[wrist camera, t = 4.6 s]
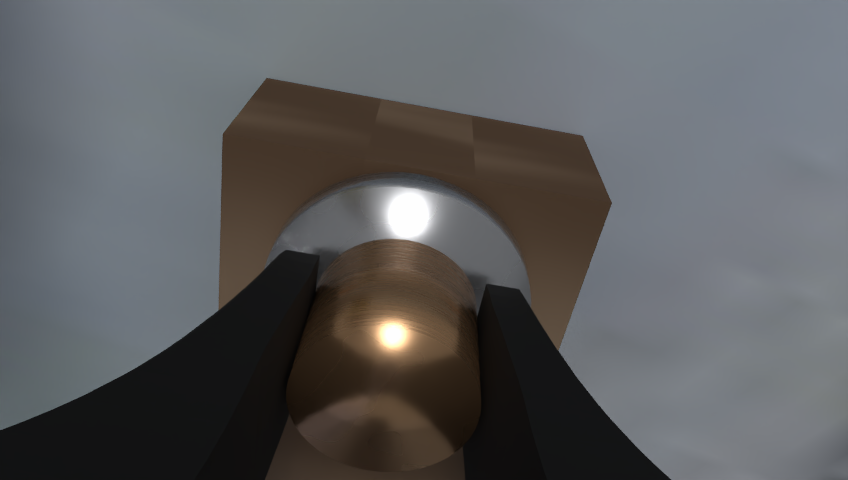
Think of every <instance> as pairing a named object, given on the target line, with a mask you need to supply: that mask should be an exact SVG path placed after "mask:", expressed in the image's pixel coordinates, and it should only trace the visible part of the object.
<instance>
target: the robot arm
mask: <svg viewBox="0 0 848 480" xmlns="http://www.w3.org/2000/svg"><path fill="white" fill-rule="evenodd" d="M319 258H320V255H315V254H309V253H303V252H297V251H291V250H285V251H283V252H282V253H280V254H279V255H278V256H277V257H276V258H275V259H274V260H273V261H272V262H271V263H270V264H269V265H268V266H267V267H266V268H265V269H264V270H263V271H262V272H261V273H260V274H259V275H258V276H257V277H256V278H255V279H254V280H253V281H252V282H251V283H250V284H248V285H247V286H246V287H245V288H244V289H243V290H242V291H241V292H239V293H238V294H237V295H236V296H235V297H234V298H233V299H231V300H230V301H229V302H228V303H227V304H226V305H224V306H223V307H222V308H221V309H220V310H219V311H217V312H216V313H215V314H214V315H212V316H211V317H210V318H208V319H207V320H206V321H204V322H203V323H202V324H200V325H199V326H198V327H196V328H195V329H194V330H192V331H191V332H190V333H189V334H187V335H186V336H185V337H183V338H182V339H180V340H179V341H177V342H176V343H174V344H173V345H172V346H170V347H169V348H167V349H166V350H164V351H163V352H161V353H160V354H158V355H156V356H155V357H153V358H151V359H150V360H148V361H147V362H145V363H143V364H142V365H140V366H138V367H137V368H135V369H133V370H132V371H130V372H128V373H126V374H124V375H122V376H121V377H119V378H117V379H115V380H113V381H111V382H109V383H107V384H105V385H103V386H101V387H99V388H97V389H95V390H94V391H92V392H90V393H88V394H86V395H84V396H82V397H80V398H77V399H75V400H73V401H71V402H68V403H66V404H64V405H62V406H60V407H57V408H55V409H53V410H51V411H48V412H46V413H43V414H41V415H38V416H36V417H33V418H31V419H29V420H26V421H24V422H21V423H19V424H16V425H13V426H11V427H8V428H6V429H3V430H0V480H265V478H266V476H267V473H268V470H269V468H270V465H271V462H272V460H273V457H274V454H275V452H276V449H277V447H278V444H279V441H280V439H281V436H282V433H283V431H284V428H285V425H286V423H287V420H288V417H289V411H288V407H287V401H286V389H287V384H288V379H289V376H290V373H291V370H292V366H293V363H294V360H295V357H296V353H297V350H298V347H299V343H300V340H301V337H302V334H303V331H304V328H305V325H306V321H307V318H308V315H309V312H310V308H311V305H312V302H313V299H314V295H315V292H316V285H317V276H318V267H319ZM477 326H478V347H479V367H480V388H481V413H480V418H479V422H478V424H477V427H476V429H475V431H474V432H473V434H472V436H471V437H470V439H469V440H468V441H467V442H466V443H465V444H464V445H463V457H464V470H465V480H671V479H670V478H669V477H668V476H666V475H665V474H664V473H663V472H662V471H661V470H660V469H659V468H658V467H657V466H655V465H654V464H653V463H652V462H651V461H650V460H649V459H648V458H647V457H646V456H645V455H644V454H643V453H642V452H641V451H640V450H639V449H638V448H637V447H636V446H635V445H634V444H633V443H632V442H631V441H630V440H629V438H628V437H627V436H626V435H625V434H624V433H623V432H622V431H621V430H620V429H619V428H618V427H617V426H616V424H615V423H614V422H613V421H612V420H611V419H610V418H609V417H608V416H607V414H606V413H605V412H604V411H603V410H602V409H601V407H600V406H599V405H598V404H597V403H596V401H595V400H594V399H593V397H592V396H591V395H590V394H589V392H588V391H587V390H586V389H585V387H584V386H583V385H582V384H581V382H580V381H579V380H578V378H577V377H576V376H575V374H574V373H573V372H572V370H571V369H570V367H569V366H568V364H567V363H566V361H565V360H564V358H563V357H562V356H561V354H560V353H559V351H558V350H557V348H556V347H555V345H554V344H553V342H552V341H551V339H550V338H549V336H548V334H547V333H546V331H545V330H544V328H543V326H542V325H541V323H540V322H539V320H538V318H537V317H536V315H535V314H534V312H533V310H532V309H531V307H530V305H529V304H528V302H527V300H526V299H525V297H524V296H523V294H522V293H521V291H520V290H519V289H516V288H510V287H504V286H498V285H492V284H486V286H485V290H484V293H483V297H482V301H481V304H480V308H479V312H478V315H477Z"/></svg>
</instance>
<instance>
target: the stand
mask: <svg viewBox="0 0 848 480" xmlns="http://www.w3.org/2000/svg"><path fill="white" fill-rule="evenodd" d="M380 172H405V173H413V174H421V175H425V176H429V177H433V178H438V179H441V180H443V181H446V182H449V183H451V184H454V185H456V186H458V187H460V188H462V189H464V190H466V191H468V192H470V193H472V194H473V195H475V196H476V197H477V198H479V199H480V200H482V201H483V202H485V203H486V204H487V205H488V206H489V207H491V208H492V209H493V210H494V211H495V212H496V213H497V214H498V215H499V216H500V217H501V218H502V220H503V221H504V222H505V223H506V224H507V226H508V227H509V228H510V230H511V231H512V233H513V235H514V236H515V238H516V239H517V241H518V244H519V246H520V248H521V251H522V253H523V256H524V260H525V264H526V267H527V273H528V279H529V284H530V293H531V309H532V310H533V312H534V314H535V315H536V317H537V318H538V320H539V322H540V323H541V325H542V326H543V328H544V330H545V331H546V333H547V334H548V336H549V338H550V339H551V341H552V342H553V344H554V345H555V347H556V348H557V350H559V347H560V345H561V342H562V339H563V336H564V333H565V331H566V328H567V325H568V322H569V320H570V317H571V314H572V311H573V309H574V306H575V303H576V300H577V298H578V295H579V292H580V289H581V287H582V284H583V281H584V278H585V276H586V273H587V270H588V267H589V264H590V262H591V259H592V256H593V253H594V251H595V248H596V245H597V242H598V240H599V237H600V234H601V231H602V229H603V226H604V223H605V220H606V218H607V215H608V212H609V209H610V207H611V204H612V202H611V200H610V198H609V195H608V193H607V191H606V189H605V186H604V184H603V182H602V179H601V177H600V175H599V172H598V170H597V168H596V165H595V163H594V161H593V159H592V156H591V154H590V152H589V149H588V147H587V145H586V142H585V140H584V138H583V136H580V135H575V134H570V133H564V132H559V131H553V130H548V129H542V128H537V127H531V126H526V125H520V124H515V123H509V122H504V121H498V120H493V119H487V118H482V117H477V116H471V115H466V114H460V113H455V112H449V111H444V110H438V109H433V108H427V107H422V106H416V105H411V104H405V103H400V102H395V101H389V100H384V99H378V98H373V97H367V96H362V95H356V94H351V93H345V92H340V91H334V90H329V89H323V88H318V87H312V86H307V85H302V84H296V83H291V82H285V81H280V80H274V79H269V78H266V80H265V81H264V82H263V84H262V85H261V86H260V87H259V89H258V90H257V91H256V92H255V94H254V95H253V96H252V97H251V99H250V100H249V101H248V103H247V104H246V105H245V106H244V108H243V109H242V110H241V111H240V113H239V114H238V115H237V117H236V118H235V119H234V120H233V122H232V123H231V124H230V125H229V127H228V128H227V129H226V131H225V132H224V133H223V147H222V189H221V232H220V275H219V310H220V309H221V308H222V307H223V306H224V305H226V304H227V303H228V302H229V301H230V300H231V299H233V298H234V297H235V296H236V295H237V294H238V293H239V292H241V291H242V290H243V289H244V288H245V287H246V286H247V285H248V284H250V283H251V282H252V281H253V280H254V279H255V278H256V277H257V276H258V275H259V274H260V273H261V272H262V271H263V270H264V268H265V265H266V262H267V259H268V256H269V254H270V252H271V249H272V247H273V245H274V243H275V240H276V238H277V236H278V234H279V233H280V231H281V229H282V227H283V225H284V224H285V223H286V221H287V220H288V219H289V217H290V216H291V215H292V213H293V212H294V211H295V210H296V209H297V208H298V207H299V206H300V205H301V204H302V203H304V202H305V201H306V200H308V199H309V198H310V197H312V196H313V195H314V194H316V193H317V192H319V191H321V190H323V189H325V188H326V187H328V186H330V185H332V184H335V183H338V182H340V181H343V180H345V179H348V178H352V177H356V176H360V175H364V174H372V173H380ZM265 480H465V470H464V457H463V446H462V447H461V448H460V449H459V450H458V451H457V452H455V453H454V454H452V455H451V456H449V457H448V458H446V459H444V460H442V461H440V462H438V463H436V464H433V465H430V466H428V467H424V468H420V469H416V470H410V471H403V472H378V471H369V470H364V469H359V468H356V467H352V466H349V465H346V464H343V463H341V462H338V461H336V460H334V459H332V458H330V457H328V456H326V455H325V454H323V453H322V452H320V451H319V450H317V449H316V448H315V447H314V446H312V445H311V444H310V443H309V442H308V441H307V440H306V439H305V438H304V437H303V436H302V435H301V433H300V432H299V431H298V429H297V428H296V427H295V425H294V423H293V421H292V419H291V417H290V414H289V417H288V420H287V423H286V425H285V428H284V431H283V433H282V436H281V439H280V441H279V444H278V447H277V449H276V452H275V454H274V457H273V460H272V462H271V465H270V468H269V470H268V473H267V476H266V478H265Z"/></svg>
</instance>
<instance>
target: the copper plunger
mask: <svg viewBox="0 0 848 480" xmlns="http://www.w3.org/2000/svg"><path fill="white" fill-rule="evenodd" d="M285 250H291V251H297V252H303V253H309V254H315V255H320V258H319V267H318V276H317V285H316V292H315V295H314V299H313V302H312V305H311V308H310V312H309V315H308V318H307V321H306V325H305V328H304V331H303V334H302V337H301V340H300V343H299V347H298V350H297V353H296V357H295V360H294V363H293V366H292V370H291V373H290V376H289V379H288V384H287V389H286V401H287V407H288V411H289V414H290V417H291V419H292V421H293V423H294V425H295V427H296V428H297V429H298V431H299V432H300V433H301V435H302V436H303V437H304V438H305V439H306V440H307V441H308V442H309V443H310V444H311V445H312V446H314V447H315V448H316V449H317V450H319V451H320V452H322V453H323V454H325V455H326V456H328V457H330V458H332V459H334V460H336V461H338V462H341V463H343V464H346V465H349V466H352V467H356V468H359V469H364V470H369V471H378V472H403V471H410V470H416V469H420V468H424V467H428V466H430V465H433V464H436V463H438V462H440V461H442V460H444V459H446V458H448V457H449V456H451V455H452V454H454V453H455V452H457V451H458V450H459V449H460V448H461V447H462V446H463V445H464V444H465V443H466V442H467V441H468V440H469V439H470V437H471V436H472V434H473V432H474V431H475V429H476V427H477V424H478V422H479V418H480V413H481V388H480V367H479V347H478V326H477V315H478V312H479V308H480V304H481V301H482V297H483V293H484V290H485V286H486V284H492V285H498V286H504V287H510V288H516V289H519V290H520V291H521V293H522V294H523V296H524V297H525V299H526V300H527V302H528V304H529V305H530V307H531V293H530V284H529V279H528V273H527V267H526V264H525V260H524V256H523V253H522V251H521V248H520V246H519V244H518V241H517V239H516V238H515V236H514V235H513V233H512V231H511V230H510V228H509V227H508V226H507V224H506V223H505V222H504V221H503V220H502V218H501V217H500V216H499V215H498V214H497V213H496V212H495V211H494V210H493V209H492V208H491V207H489V206H488V205H487V204H486V203H485V202H483V201H482V200H480V199H479V198H477V197H476V196H475V195H473V194H472V193H470V192H468V191H466V190H464V189H462V188H460V187H458V186H456V185H454V184H451V183H449V182H446V181H443V180H441V179H438V178H433V177H429V176H425V175H421V174H413V173H405V172H380V173H372V174H364V175H360V176H356V177H352V178H348V179H345V180H343V181H340V182H338V183H335V184H332V185H330V186H328V187H326V188H325V189H323V190H321V191H319V192H317V193H316V194H314V195H313V196H312V197H310V198H309V199H308V200H306V201H305V202H304V203H302V204H301V205H300V206H299V207H298V208H297V209H296V210H295V211H294V212H293V213H292V215H291V216H290V217H289V219H288V220H287V221H286V223H285V224H284V225H283V227H282V229H281V231H280V233H279V234H278V236H277V238H276V240H275V243H274V245H273V247H272V249H271V252H270V254H269V256H268V259H267V262H266V265H265V268H266V267H267V266H268V265H269V264H270V263H271V262H272V261H273V260H274V259H275V258H276V257H277V256H278V255H279V254H280V253H282V252H283V251H285ZM265 268H264V269H265Z"/></svg>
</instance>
